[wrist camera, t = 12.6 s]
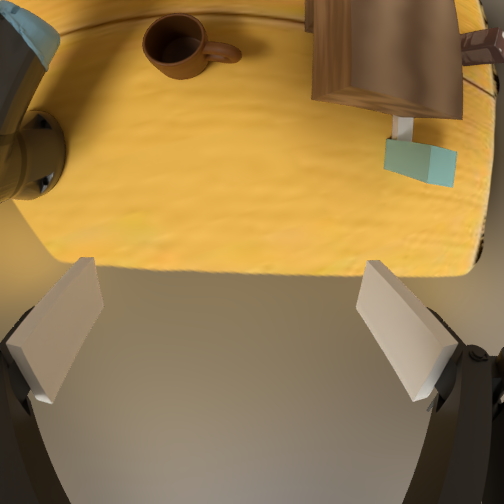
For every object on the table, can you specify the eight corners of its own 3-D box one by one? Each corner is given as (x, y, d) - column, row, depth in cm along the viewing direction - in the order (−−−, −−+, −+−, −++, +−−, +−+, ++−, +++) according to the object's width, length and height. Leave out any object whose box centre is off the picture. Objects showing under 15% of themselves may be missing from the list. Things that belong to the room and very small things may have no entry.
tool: (383, 168, 42) (427, 183, 31) (388, 64, 35) (432, 51, 24) (407, 172, 42) (452, 187, 32) (412, 71, 35) (458, 63, 24)
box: (464, 67, 34) (508, 64, 23) (450, 51, 33) (493, 43, 22) (471, 49, 33) (512, 44, 21) (457, 33, 31) (498, 24, 20)
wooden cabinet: (302, 103, 38) (351, 86, 21) (305, 1, 30) (345, -57, 14) (393, 119, 39) (470, 123, 22) (393, 24, 32) (459, -6, 15)
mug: (247, 47, 34) (252, 25, 25) (231, 92, 36) (232, 81, 28) (168, 31, 31) (153, 8, 23) (152, 76, 34) (132, 63, 26)
